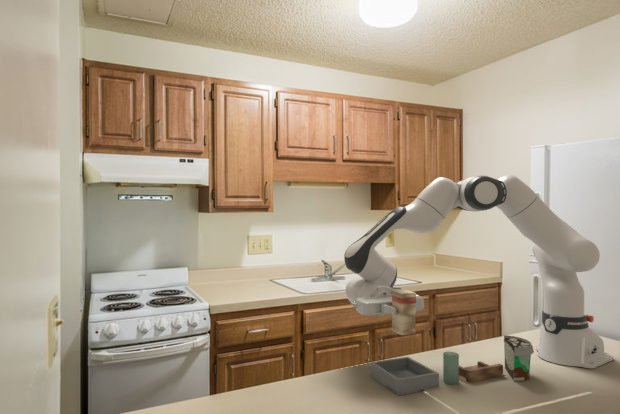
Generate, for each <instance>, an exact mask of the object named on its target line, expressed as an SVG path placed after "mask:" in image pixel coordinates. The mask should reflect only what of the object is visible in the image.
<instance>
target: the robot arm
mask: <svg viewBox="0 0 620 414" xmlns="http://www.w3.org/2000/svg"><path fill="white" fill-rule="evenodd" d="M495 207H496V208H497V209H499V210H501V212H502V213H503V214H504V216H505V217H506V218H507V219H508V220H509V221H510V222H511V223H512V225H514V226H515V228H516V229H517V230H518V232H520V233H521V235H523V236H524V237H525V238H527V239H528V240H530V241H531V242H532V243H533V244H532V250H531V251H532V254H533V256H534V257H535V259H536V262H537V264H538V268H539V273H540V277H541V281H542V291H543V293H542V295H543V299H542V300H543V310H541V323H542V325H541V326H540V329H539V337H538V345H537V346H535V347H536V348H535V350H536V351H537V356H538V357H539V358H541V359H543V360H545V361H547V362H550V363H553V364H557V365H562V366H569V367H581V368H586V369H595V368H598V367H601V366H603V365H605V364H607V363H609V362H611V361H613V360H614V356H613V355H612V354H610V353H609V352H606V351H605V343H604V340H603V338H602V337H600V335H598V334H597V333H596V332H594V331H593V330H592V329H591V328H590V325H589V323H594V321H595V317H594V315H589V314H585V289H584V287H583V285H582V284H581V282H580V280H579V278H578V275H577V273H583V272H589V271H592V270H593V269H594V268H595V267H596V266H597V265H598V264H599V261H600V259H601V257H600V250H599V248H598V245H596V244H595V243H594V242H592V240H589V239H588V238H586V237H585V236H584V235H582V234H581V233H579V232H578V231H577V230H576V229H574V228H573V227H572V226H571V225H569V224H568V223H567V222H565V221H564V220H563V219H562V218H560V217H559V216H558V215H557V214H555V212H553V211H552V209H550V207H549V206H548V205H547V204H546V203H545V202H544V201H543V200H542V199H541V197H539V196H538V194H537V193H536V192H535V191H534V190H533V189H532V188H531V187H530V186H528V184H527V183H525V182H524V181H523V180H521V179H520V178H518V177H517V176H515V175H513V174H506V175H502V176H501V177H499V178H498V177H497V178H493V177H490V176H488V175H473V176H470V177H467V178H466V179H462V180H458V181H456V182H455V181H453V180H452V179H450V178H448V177H443V176H442V177H440V176H439V177H437V178H435V179H434V180H433V181H431V182H430V183H429V184H428V185H427V186H426V187H425V188H424V189H422V191H421V192H420V193H419V194H418V195H417V197H415V199H414V200H413V201H412V202H410V203H409V204H407V205H405V206H397V207H396V208H394V209H392V210H391V211H389V212H388V213H387V214H386V215H385V216H383V218H382V219H380V220H379V221H378V222H377V223H376V224H374V226H373V227H371V229H370V230H368V231H367V232H366V233H365V234H363V236H361V237H360V238H359V239H357V240H356V241H354V242H353V243H351V244H350V245H349V246H348V247H347V249H346V250H345V252H344V255H343V257H344V265H345V266H346V267H345V268H346V269H347V270H349V271H351V272H352V273H354V274H357V275H358V278H354V279H351V280H349V281H348V282H347V283H346V286H345V296H346V298H347V299H348V301H349V302H350V305H351V306H352V307H354V308H355V311H356V312H358V313H359V314H360V315H362V316H367V317H368V316H376V317H383V316H386V315H387V314H389V315H392V314H393V315H396V314H399V312H398V311H399V309H398V308H397V307H392V291H394V290H406V289H405V288H403V287H394V286H395V284H396V282H397V278H398V269H397V268H398V267H397V266H396V264H395V263H393V262H391V260H389V258H387V257H385V256H383V255H382V254H381V253H379V251H377V250H376V247H377V246H378V245H379V244H380V243H382V241H384V240H385V239H386V238H387V237H388V236H389V235H390V234H391V233H392V232H394V231H397V230H406V231H410V232H413V233H417V234H428V233H431V232H434V231H436V230H437V228H439V226H441V224H442V223H443V221H444V220H445V219H446V218H447V217H448V215H449V214H450V212H451V211H454V209H456V208H457V209H460V210H463V211H465V212H466V211H467V212H481V211H487V210H490V209H493V208H495ZM424 301H425V300H424V297H423V296H421V295H419V294H416V313H417V312H418V311H423V310H424V307H425V302H424Z"/></svg>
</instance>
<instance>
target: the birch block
mask: <svg viewBox="0 0 620 414" xmlns="http://www.w3.org/2000/svg"><path fill="white" fill-rule="evenodd" d="M416 295H417V293H416V292H415V291H413V290H412V291H411V290H408V289H405V290H394V291H392V307H397V308H398V309H399V311H398V312H399V314H396V315H393V314H391V332H394V333H396V334H398V335H400V336H406V335H415V334H416V317H417V316H416V313H417V312H416Z"/></svg>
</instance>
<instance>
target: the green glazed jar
mask: <svg viewBox="0 0 620 414" xmlns="http://www.w3.org/2000/svg"><path fill="white" fill-rule="evenodd" d="M459 366H460V355H459V353H457V352H456V351H455V352H454V351H444V352H443V353H442V373H443V374H442V381H443V383H444V384H447V385H452V386H455V385H458V384H459V383H460V380H459Z"/></svg>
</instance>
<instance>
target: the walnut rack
mask: <svg viewBox="0 0 620 414" xmlns="http://www.w3.org/2000/svg"><path fill="white" fill-rule="evenodd" d="M506 376H507V375H506V374H504V365H503V364H501V363H496V364H487V363H485V362H482V361H481V360H480V361H477V364H476V365H471V366H466V367H463V366H461V365H459V381H461V382H463V383H465V384H473V383H476V382H483V381H486V380H492V379H497V378H501V377H506Z"/></svg>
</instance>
